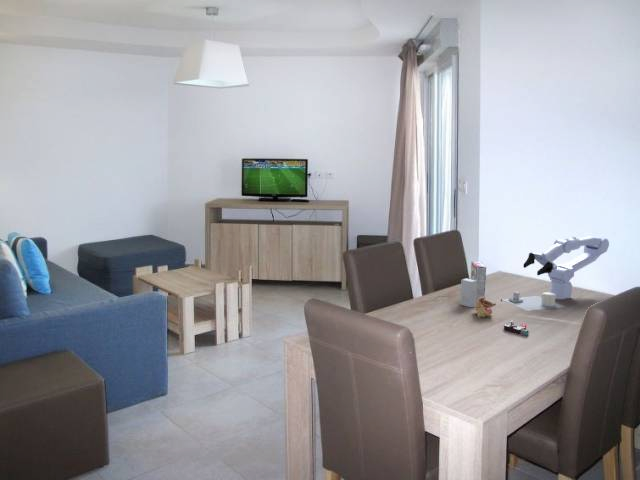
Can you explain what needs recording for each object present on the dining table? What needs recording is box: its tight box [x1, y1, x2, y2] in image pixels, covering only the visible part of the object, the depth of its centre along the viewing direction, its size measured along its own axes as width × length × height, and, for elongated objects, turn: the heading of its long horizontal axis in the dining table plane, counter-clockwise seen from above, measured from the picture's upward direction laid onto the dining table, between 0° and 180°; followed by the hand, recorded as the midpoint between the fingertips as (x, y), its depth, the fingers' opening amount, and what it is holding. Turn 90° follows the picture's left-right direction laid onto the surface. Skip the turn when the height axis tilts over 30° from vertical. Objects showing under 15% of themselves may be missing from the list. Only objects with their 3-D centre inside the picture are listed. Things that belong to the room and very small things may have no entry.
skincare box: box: [460, 278, 477, 308], centre depth 281 cm, size 6×4×12 cm
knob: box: [541, 291, 556, 306], centre depth 282 cm, size 6×6×5 cm
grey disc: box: [508, 291, 523, 303], centre depth 287 cm, size 6×6×4 cm
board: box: [500, 295, 565, 312], centre depth 285 cm, size 21×19×1 cm
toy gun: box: [503, 319, 530, 337], centre depth 248 cm, size 10×12×5 cm
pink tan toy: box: [473, 296, 497, 319], centre depth 267 cm, size 9×10×10 cm
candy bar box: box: [470, 260, 487, 300], centre depth 295 cm, size 11×5×16 cm, turn 179°
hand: (530, 269), depth 282 cm, fingers open, 7 cm apart
